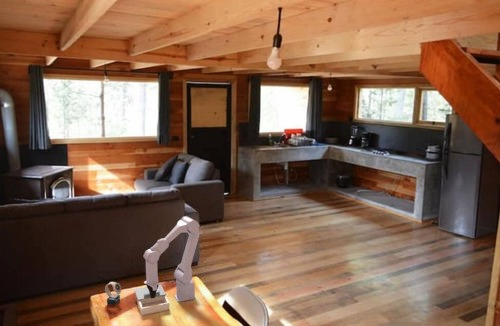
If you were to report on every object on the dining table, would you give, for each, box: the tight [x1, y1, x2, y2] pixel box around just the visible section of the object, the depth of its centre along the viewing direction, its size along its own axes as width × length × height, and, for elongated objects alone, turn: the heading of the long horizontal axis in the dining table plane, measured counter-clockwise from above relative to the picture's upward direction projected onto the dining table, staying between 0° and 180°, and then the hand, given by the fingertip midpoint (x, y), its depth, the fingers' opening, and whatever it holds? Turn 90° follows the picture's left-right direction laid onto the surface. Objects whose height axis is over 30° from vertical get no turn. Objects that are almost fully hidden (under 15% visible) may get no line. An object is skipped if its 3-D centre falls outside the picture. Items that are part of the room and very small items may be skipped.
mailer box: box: [137, 294, 170, 317], centre depth 212 cm, size 14×12×4 cm
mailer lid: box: [133, 284, 167, 301], centre depth 219 cm, size 14×12×2 cm
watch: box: [104, 281, 122, 306], centre depth 217 cm, size 6×8×11 cm
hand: (152, 297), depth 212 cm, fingers closed
